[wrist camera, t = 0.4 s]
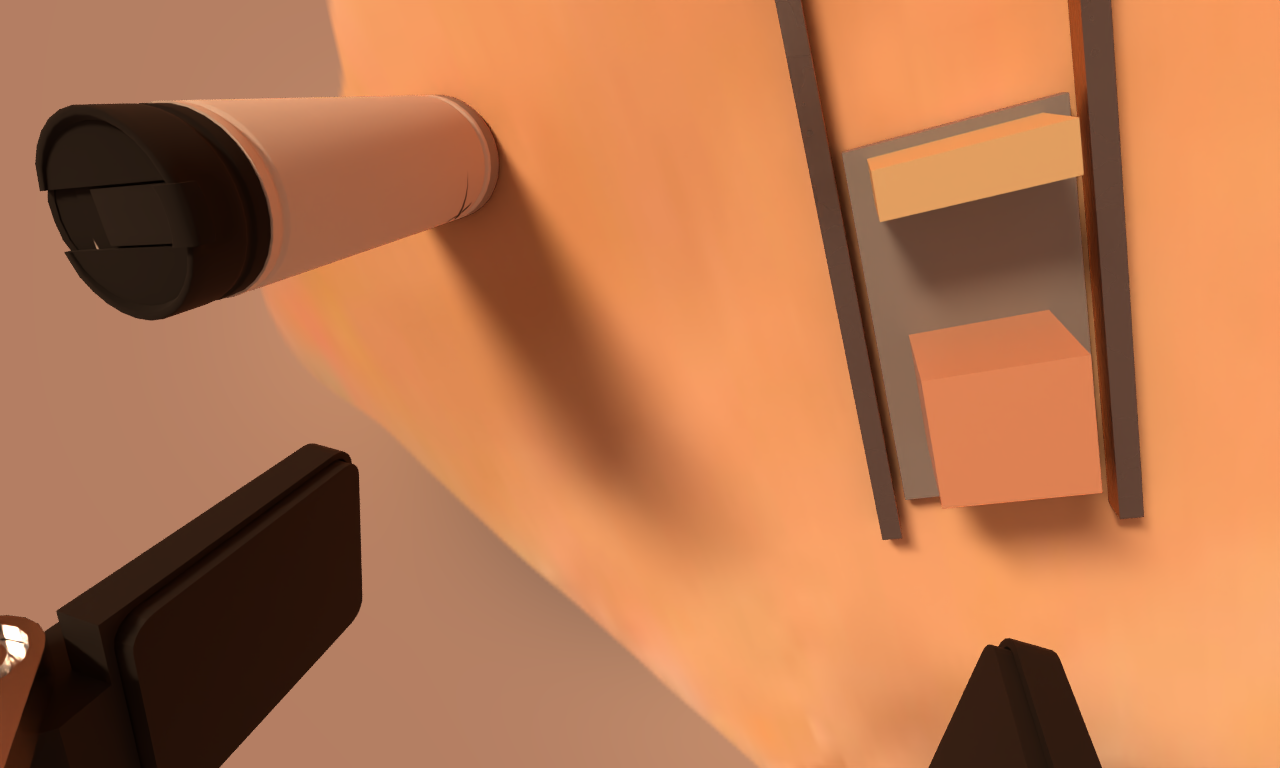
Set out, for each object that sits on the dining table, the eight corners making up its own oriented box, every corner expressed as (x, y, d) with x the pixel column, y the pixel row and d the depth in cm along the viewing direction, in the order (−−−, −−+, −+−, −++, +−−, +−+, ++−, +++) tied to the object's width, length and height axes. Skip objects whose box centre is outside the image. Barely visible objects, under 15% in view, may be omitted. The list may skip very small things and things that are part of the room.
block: (1048, 309, 32) (1090, 354, 26) (1060, 428, 34) (1102, 492, 28) (908, 334, 34) (921, 381, 28) (927, 445, 36) (942, 508, 30)
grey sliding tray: (841, 151, 32) (841, 164, 27) (1062, 92, 29) (1111, 93, 24) (903, 490, 38) (914, 556, 33) (1094, 469, 35) (1140, 538, 30)
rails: (1078, -267, 25) (1092, -288, 24) (1131, 499, 35) (1143, 516, 34) (751, -131, 29) (746, -141, 28) (881, 523, 39) (882, 540, 38)
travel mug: (515, 213, 38) (225, 327, 20) (408, 220, 40) (54, 330, 22) (496, 87, 36) (149, 89, 18) (382, 100, 37) (-36, 114, 20)
